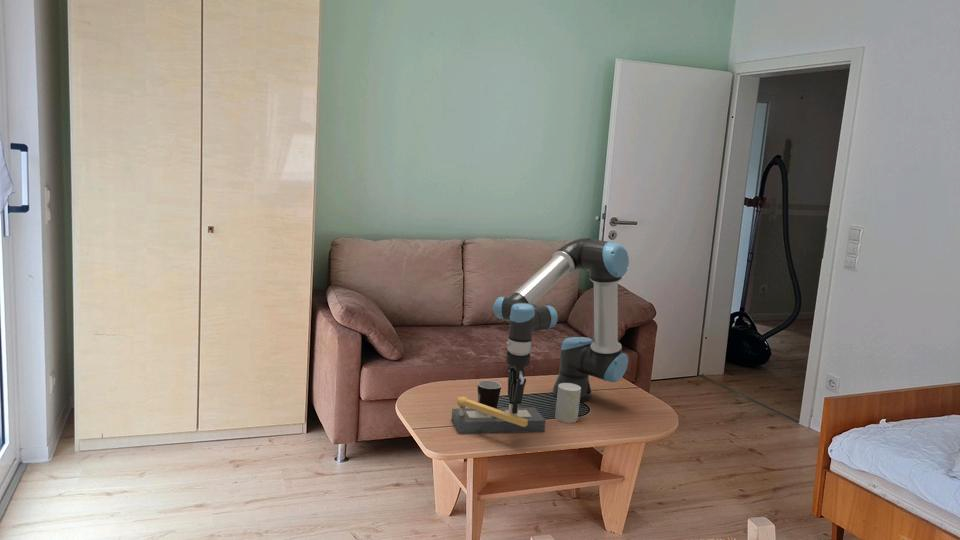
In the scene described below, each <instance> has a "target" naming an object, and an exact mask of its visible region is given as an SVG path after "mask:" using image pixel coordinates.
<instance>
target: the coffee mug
mask: <svg viewBox="0 0 960 540" xmlns="http://www.w3.org/2000/svg"><path fill="white" fill-rule="evenodd" d="M501 389H502V384H501V383H500V382H498V381H495V380H480V381H478V382H477V402H478V403H481V404H484V405H487V406H490V407H492V408H498V405H499V400H500V395H501Z"/></svg>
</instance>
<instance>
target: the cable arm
mask: <svg viewBox="0 0 960 540" xmlns="http://www.w3.org/2000/svg"><path fill="white" fill-rule="evenodd" d="M456 403H457V406H465V408H472V409H474V410H477V411H480V412H483V413H486V414H488V415H491V416H494V417H497V418H500V419H503V420H505V421H508V422H511V423H514V424H517V425H519V426H522V427H525V426H527V424H528V420H527V419H524V418H521V417H518V416H516V415H513V414H510V413H507V412H504V411H501V410H498V409H495V408H492V407H490V406H487V405H484V404H481V403H478V401H475V400H472V399H469V397H467V396H458V397H457V402H456Z"/></svg>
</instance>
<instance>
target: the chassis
mask: <svg viewBox="0 0 960 540" xmlns="http://www.w3.org/2000/svg"><path fill="white" fill-rule="evenodd" d="M458 406H459V405H458ZM495 409H498V410H501V411H504V412H507V413H509V407H497V408H495ZM518 417H521V418H524V419H527V420H528V424H527V426H525V427H522V426H519V425H517V424H514V423H511V422H508V421H505V420H503V419H500V418H497V417H494V416H491V415H488V414H486V413H483V412H480V411H477V410H474V409H472V408H469V407H466V406H459V408H451V419H450V420H451V422H452V424H453V425H454V427H455V429H456V431H457V433H458V434H459V435H462V434H463V435H464V434H466V435H467V434H501V433H502V434H503V433H504V434H506V433H507V432H508V433H536V432H537V433H539V432H545V431H546V430H545V429H546V419H545V418H544V417H543V415H542V414H541V413H540V412H539V411H538V409H537V408H536V407H530V406H529V407H518Z"/></svg>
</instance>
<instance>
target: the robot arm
mask: <svg viewBox="0 0 960 540" xmlns="http://www.w3.org/2000/svg"><path fill="white" fill-rule="evenodd" d="M629 264H630V259H629V253H628V251H627V249H626V247H624V246H623V245H622V244H620V243H615V242H613V241H608V240H607V241H605V240H600V239H594V238H590V237H581V238H577V239H574V240H572V241H569V242H568V243H566V244H564V245H562V246H561V247H560V248H558V249H557V250H555V252H554V253H553V254H552V256H551V259H550V260H549V261H548V262H547V263H545V264H544V265H542V267H541V268H540V269H539V270H538V271H537V272H535V273H534V274H533V275H532V276H531V277H530V278H529V279H528V280H526V281H525V282H524V283H523V284H522V285H521V286H519V288H517V289H516V290H515V291H514V292H513V293H512V294H510V295H509V296H508V297H507V296H499V297H497V298H496V300H495V301H494V303H493V307H492V311H493V314H494V316H495V317H496V318H499V319H500V320H503V321H506V322H507V321H508V322H509V327H508V330H509V331H508V341H506V345H507V347H506V348H507V352H506V358H505V359H506V360H505V361H506V364H507V365H509V366H507V398H508V404H509V405H508V408H509V413H510V414H513V415H516V416H518V408H519V405H522V401H523V396H524V391H525V386H526V382H527V378H524V377H525V373H526V372H525V370H524V369H525V367H528V366H529V365H530V363H531V362H530V361H531V354H530V353H531V352H532V346H533V345H532V343H533V333H535V332H538V331H545V330H549V329H550V328H553V327H555V326H556V324H557V323H558V319H559V318H558V312H557V310H556V308H554V307H553V306H552V305H542V306H539V305H535V303H536V302H538V301H539V300H540V299H541V298H542V297H543V296H544V295H545V294H546V293H547V292H548V291H550V290H551V289H552V288H553V287H554V286H555V285H556V284H557V283H559V281H560V280H562V279H563V277H565V276H566V275H569V274H572V273H573V272H574V271H576V270H584V271H588V274H589V276H588V278H589V280H590V281H591V282H592V283H593V330H594V331H593V334H594V336H593V337H594V338H593V339H594V340H593V339H592V338H590V337H587V336H586V337H585V336H572V337H567V338H564V339H563V340H562V343H561V348H560V361H559V369H558V371H559V372H558V375H557V377H556V380H555V382H554V384H553V387H552V395H553V396H555V397H556V398H557V392H558V385H559V384H561V383H572V384H576V385H578V386H580V387H581V393H580V402H579V403H581V402H587V401H590V399H591V398H592V388H591V384H590V379H589V377H590V376H591V377H594V378H597V379H599V380H603V381H604V382H610V383H616V382H619V381H620V380H621V379H622V378H623V376H624V375H625V373H626V371H627V369H628V366H629V365H628V364H629V357H628V355H627V354H626V353H624V352H623V351H622V349H623V347H622V343H620V342H619V341H618V335H619V334H618V327H619V326H618V325H619V323H618V320H619V319H618V318H619V317H618V313H619V312H618V310H619V308H618V304H619V303H618V301H619V299H618V297H619V296H618V293H619V292H618V290H619V289H618V287H619V285H618V283H620V281H621V280H622V279H623V277H624V276H625V275H626V273H627V271H628V268H629Z"/></svg>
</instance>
